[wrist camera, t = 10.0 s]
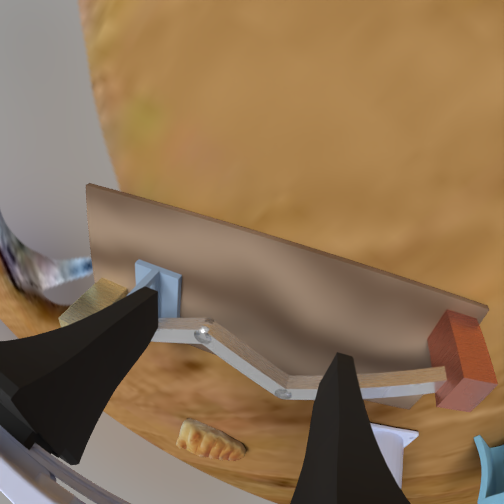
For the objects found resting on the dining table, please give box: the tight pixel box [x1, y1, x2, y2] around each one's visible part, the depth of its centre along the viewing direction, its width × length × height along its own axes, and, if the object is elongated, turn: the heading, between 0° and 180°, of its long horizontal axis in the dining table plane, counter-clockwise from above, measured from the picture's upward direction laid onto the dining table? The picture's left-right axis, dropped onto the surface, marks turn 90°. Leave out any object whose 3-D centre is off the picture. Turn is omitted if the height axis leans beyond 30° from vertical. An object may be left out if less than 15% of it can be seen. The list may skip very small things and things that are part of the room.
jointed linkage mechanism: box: [59, 277, 498, 412], centre depth 21 cm, size 5×32×6 cm, turn 92°
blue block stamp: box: [127, 259, 182, 318], centre depth 22 cm, size 4×6×10 cm, turn 170°
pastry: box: [176, 418, 246, 461], centre depth 37 cm, size 9×7×4 cm
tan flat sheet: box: [86, 183, 489, 409], centre depth 24 cm, size 13×32×1 cm, turn 80°
